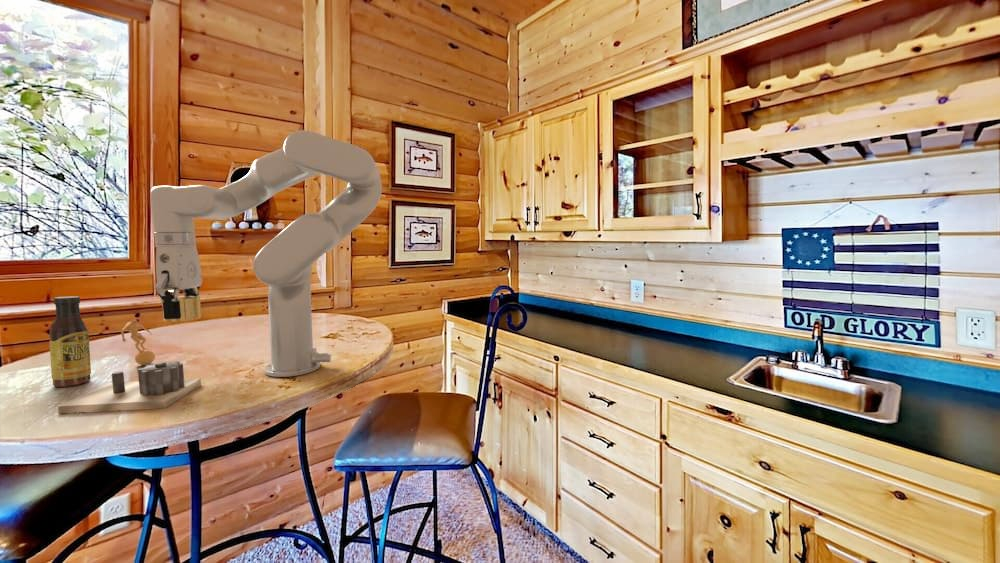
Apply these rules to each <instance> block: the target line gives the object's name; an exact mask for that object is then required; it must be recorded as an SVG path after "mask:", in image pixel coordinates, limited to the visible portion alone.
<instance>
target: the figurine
mask: <svg viewBox="0 0 1000 563" xmlns="http://www.w3.org/2000/svg"><path fill="white" fill-rule="evenodd" d="M124 325H125V326H124V327H123V328H122V329H121V330H120V334H121V337H122V342H123V343H126V342H127V340H128V339H127V338H125V334H124V332H125V331H128V332H129V333H130V334H131V335H130V339H131V340H132V341H134V342H135V344H134V346H135V349H136V350H137V351H138V352H137V353H136V354H135V355H134V356H135V357H134V360H135V362H136V364H137V365H140V366H147V365H151V364H152V363H153V362H154V361H155V358H156V355H155V353H154V352H153V351H152V350H150V349H148V348H146V347H144V344H145V343H146V342H147V338H145V337H144V335H142V333H141V332H139V328H142V329H143V330H144V331H146V332H147V333H149V334H150V335H151V336H152V335H153V333H152V332H151V331H150V330H149V329H148V328H147V327H145V326H144V325H142V324H140V323H138V320H137V319H133V320H132V321H128V322H126V323H125V324H124ZM139 345H140V347H141V348H140V347H139Z"/></svg>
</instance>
